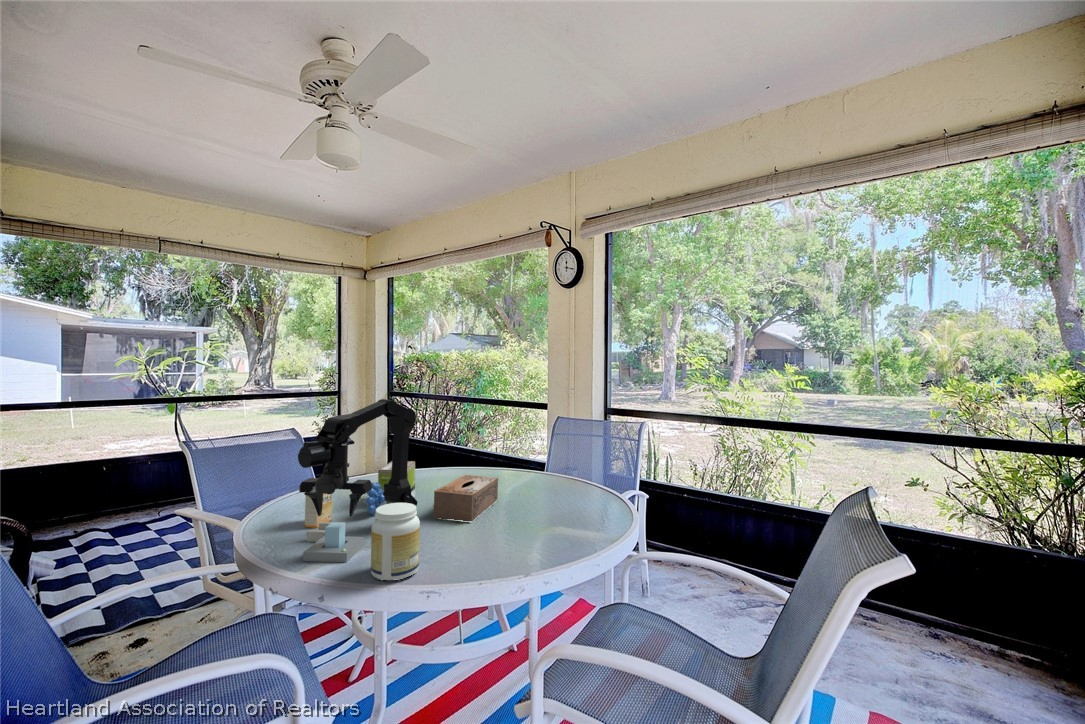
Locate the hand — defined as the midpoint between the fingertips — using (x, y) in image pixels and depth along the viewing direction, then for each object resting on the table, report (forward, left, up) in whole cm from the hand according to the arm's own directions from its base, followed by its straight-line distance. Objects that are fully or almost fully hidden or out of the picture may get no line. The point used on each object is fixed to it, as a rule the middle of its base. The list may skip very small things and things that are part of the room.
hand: (335, 515), depth 135 cm
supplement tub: (-21, +11, -11) cm, 26 cm away
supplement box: (+16, -23, -11) cm, 30 cm away
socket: (0, 0, -11) cm, 11 cm away
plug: (0, 0, -11) cm, 11 cm away
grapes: (0, -33, -11) cm, 35 cm away
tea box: (-2, -49, -11) cm, 50 cm away
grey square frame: (+8, -12, -11) cm, 18 cm away
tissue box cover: (-31, -42, -11) cm, 53 cm away
